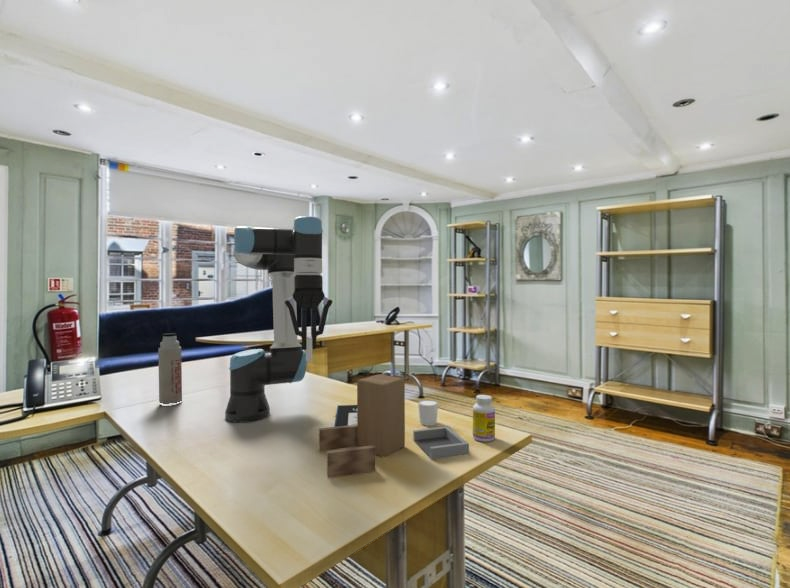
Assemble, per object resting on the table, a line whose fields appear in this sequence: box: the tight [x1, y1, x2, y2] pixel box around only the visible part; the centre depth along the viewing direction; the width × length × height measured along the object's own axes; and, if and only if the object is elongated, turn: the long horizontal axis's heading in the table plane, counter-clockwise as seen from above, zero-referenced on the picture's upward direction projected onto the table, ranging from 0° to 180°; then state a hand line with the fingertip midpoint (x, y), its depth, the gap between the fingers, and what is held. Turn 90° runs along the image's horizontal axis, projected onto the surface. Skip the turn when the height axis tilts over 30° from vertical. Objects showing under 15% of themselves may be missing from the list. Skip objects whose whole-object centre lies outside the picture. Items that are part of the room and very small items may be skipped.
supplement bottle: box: [472, 394, 496, 443], centre depth 125 cm, size 7×7×13 cm
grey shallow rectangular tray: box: [412, 426, 470, 460], centre depth 118 cm, size 11×14×3 cm
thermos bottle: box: [157, 332, 183, 404], centre depth 162 cm, size 8×8×28 cm
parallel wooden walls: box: [318, 424, 376, 478], centre depth 110 cm, size 12×18×6 cm, turn 17°
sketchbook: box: [333, 404, 357, 427], centre depth 143 cm, size 22×30×2 cm
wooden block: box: [356, 373, 406, 458], centre depth 118 cm, size 10×10×20 cm
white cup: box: [417, 399, 439, 427], centre depth 139 cm, size 7×7×7 cm
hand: (309, 360), depth 112 cm, fingers closed
